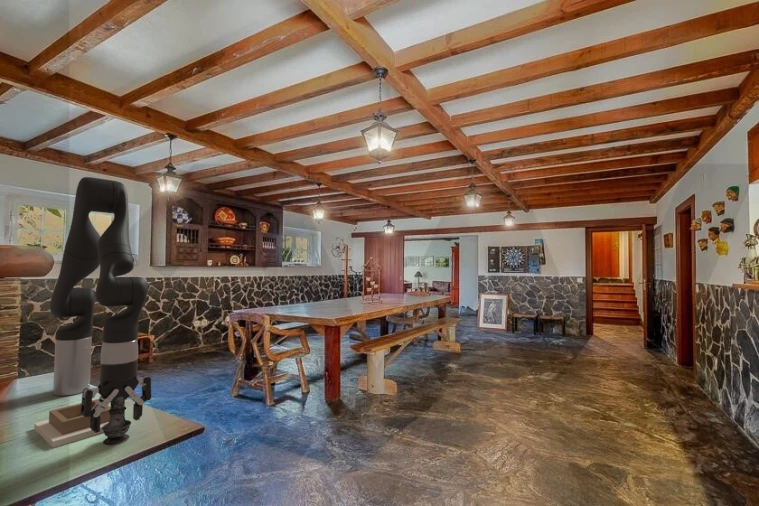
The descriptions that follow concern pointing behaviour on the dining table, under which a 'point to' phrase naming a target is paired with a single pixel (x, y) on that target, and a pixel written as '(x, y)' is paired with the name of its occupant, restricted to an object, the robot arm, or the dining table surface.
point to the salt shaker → (116, 424)
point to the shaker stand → (69, 425)
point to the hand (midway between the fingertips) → (116, 425)
